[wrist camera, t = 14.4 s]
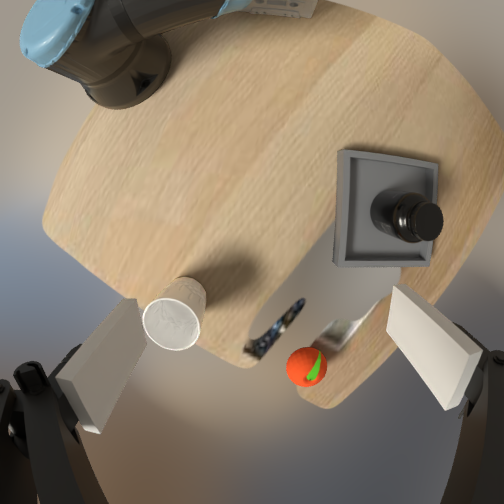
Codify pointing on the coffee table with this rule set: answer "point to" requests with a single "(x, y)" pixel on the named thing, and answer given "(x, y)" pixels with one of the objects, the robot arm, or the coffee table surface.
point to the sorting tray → (359, 202)
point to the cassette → (282, 7)
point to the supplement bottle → (406, 216)
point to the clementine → (306, 366)
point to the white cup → (176, 314)
